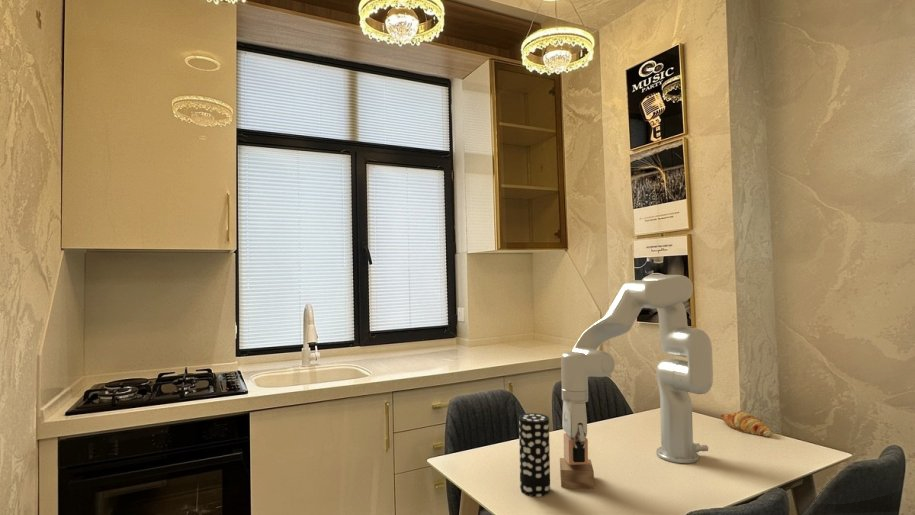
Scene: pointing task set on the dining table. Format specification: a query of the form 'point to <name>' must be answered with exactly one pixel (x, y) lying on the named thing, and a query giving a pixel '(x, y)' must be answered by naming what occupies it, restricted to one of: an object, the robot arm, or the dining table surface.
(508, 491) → the dining table surface
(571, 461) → the peach matte cube
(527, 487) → the white-spotted black cylinder
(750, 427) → the croissant
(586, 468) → the walnut block
